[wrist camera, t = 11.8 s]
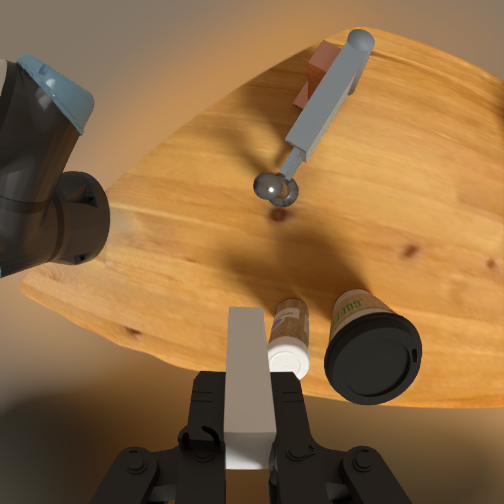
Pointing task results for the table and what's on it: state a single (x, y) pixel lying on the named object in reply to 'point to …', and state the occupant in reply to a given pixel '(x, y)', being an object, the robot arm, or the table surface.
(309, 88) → the gate posts
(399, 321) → the coffee cup
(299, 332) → the sprinkles bottle
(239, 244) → the table surface
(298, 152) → the gate
